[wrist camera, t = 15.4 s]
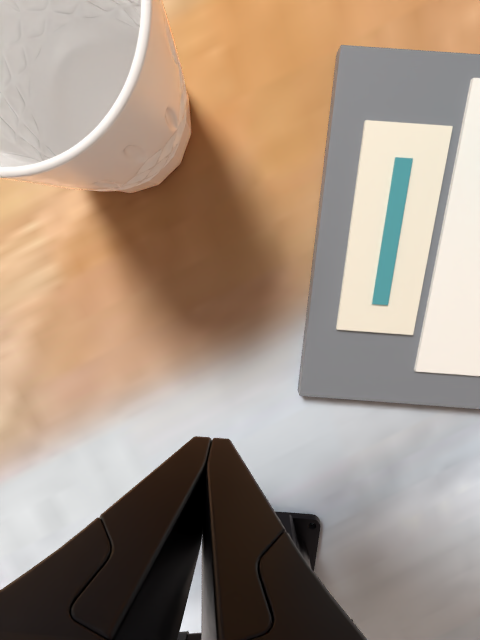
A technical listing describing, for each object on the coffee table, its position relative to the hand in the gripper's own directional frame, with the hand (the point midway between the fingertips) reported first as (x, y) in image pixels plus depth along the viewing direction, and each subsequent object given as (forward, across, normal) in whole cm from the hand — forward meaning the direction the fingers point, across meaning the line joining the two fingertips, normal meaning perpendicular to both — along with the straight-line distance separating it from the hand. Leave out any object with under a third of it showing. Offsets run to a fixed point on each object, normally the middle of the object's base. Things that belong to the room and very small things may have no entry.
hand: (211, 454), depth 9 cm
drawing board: (+12, -12, -5) cm, 18 cm away
